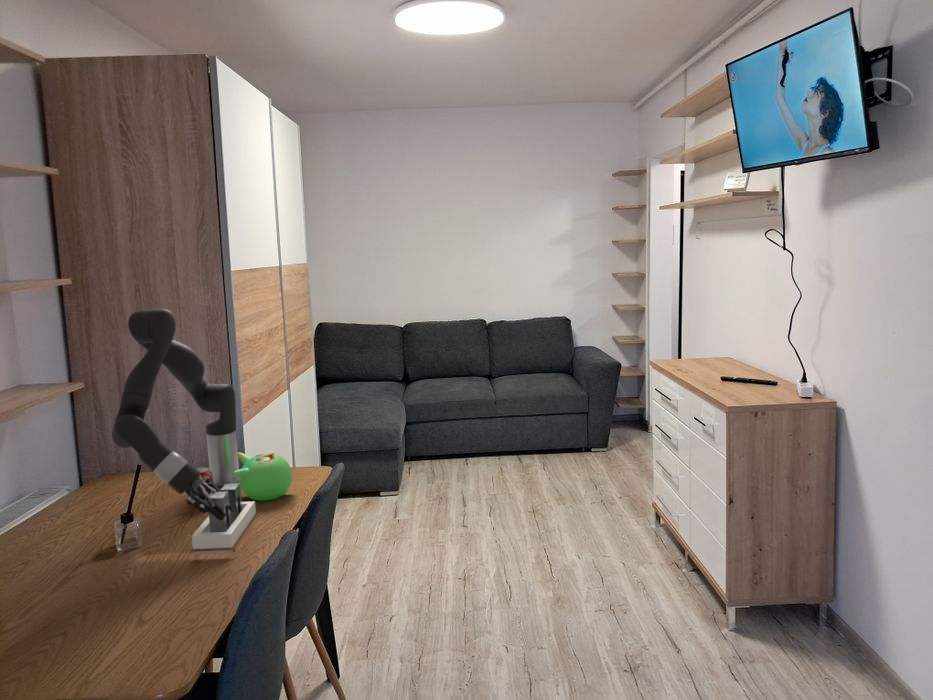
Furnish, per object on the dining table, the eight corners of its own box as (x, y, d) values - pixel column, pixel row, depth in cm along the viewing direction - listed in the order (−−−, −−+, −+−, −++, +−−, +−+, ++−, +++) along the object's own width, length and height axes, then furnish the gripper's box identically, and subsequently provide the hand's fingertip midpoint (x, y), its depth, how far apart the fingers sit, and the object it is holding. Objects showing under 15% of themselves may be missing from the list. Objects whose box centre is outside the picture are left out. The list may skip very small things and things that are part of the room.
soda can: (219, 503, 226) (215, 465, 224) (209, 512, 219) (205, 473, 218) (197, 503, 227) (193, 465, 225) (186, 512, 220) (182, 473, 218)
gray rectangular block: (223, 524, 205) (220, 489, 203) (228, 517, 210) (225, 483, 208) (237, 523, 205) (234, 489, 204) (242, 517, 210) (239, 483, 208)
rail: (221, 519, 213) (219, 502, 212) (256, 517, 213) (255, 501, 212) (193, 554, 189) (191, 536, 189) (232, 552, 189) (231, 534, 189)
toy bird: (294, 505, 222) (290, 458, 220) (235, 512, 218) (231, 464, 216) (293, 486, 240) (289, 442, 238) (238, 492, 236) (235, 448, 234)
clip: (210, 535, 194) (207, 498, 193) (216, 527, 199) (213, 492, 198) (225, 534, 194) (222, 498, 193) (231, 527, 199) (228, 491, 198)
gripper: (176, 470, 187) (228, 514, 189) (195, 454, 201) (243, 494, 203) (157, 491, 187) (209, 534, 189) (177, 473, 202) (225, 514, 204)
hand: (226, 513), depth 196 cm, fingers closed on clip, 5 cm apart
